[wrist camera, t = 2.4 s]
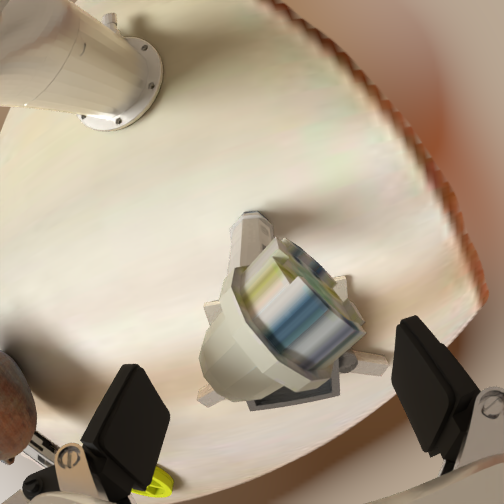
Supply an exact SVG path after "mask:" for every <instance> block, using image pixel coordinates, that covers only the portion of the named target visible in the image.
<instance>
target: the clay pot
mask: <svg viewBox="0 0 504 504" xmlns="http://www.w3.org/2000/svg"><path fill="white" fill-rule="evenodd" d="M36 425H37V412H36V406H35V402H34V399H33V396H32V393H31V390H30V388H29V385H28V383H27V380H26V378H25V376H24V375H23V373H22V371H21V370H20V368H19V366H18V365H17V363H16V362H15V361H14V360H13V359H12V358H11V357H10V356H9V355H8V354H6V353H5V352H3V351H1V350H0V461H1V462H3V463H5V464H7V465H11V464H12V463H14V459H15V456H16V455H18V454H19V453H21V452H22V451H23V450H24V449H25V448H26V447H27V446H28V444H29V442H30V441H31V439H32V437H33V435H34V432H35V430H36Z"/></svg>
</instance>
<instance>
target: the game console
mask: <svg viewBox="0 0 504 504" xmlns="http://www.w3.org/2000/svg"><path fill="white" fill-rule="evenodd" d="M54 450H55V449H53V448H52V447H50V442H49V441H48V440H46V439H45V438H43V437H42V436H41V435H39V434H38V433H37V432H34V435H33V437H32V439H31V441H30V442H29V444H28V446H27V447H26V448H25V449H24V450H23V452H24V453H26V454H27V455H28V456H30V457H31V458H32V459H34V460H35V461H37V462H38V463H39V464H41V465H42V466H44V467H45V468H47V467H50V466H52V465H54V464H55V463H54V458H55V454H54Z"/></svg>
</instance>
